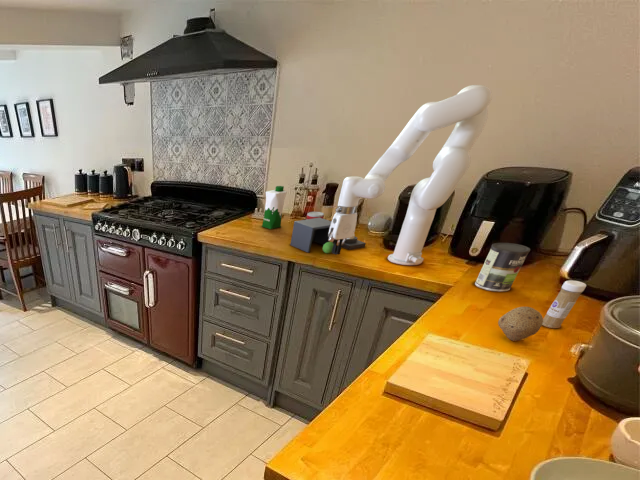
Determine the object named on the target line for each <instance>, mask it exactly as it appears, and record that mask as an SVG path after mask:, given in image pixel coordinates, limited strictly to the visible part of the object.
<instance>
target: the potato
mask: <svg viewBox="0 0 640 480" xmlns="http://www.w3.org/2000/svg"><path fill="white" fill-rule="evenodd" d="M543 319H544V317H543V315H542V313H541V312H540V311H539V310H537V309H535V308H533V307H530V306H519V307H515V308H513V309H511V310H509V311H508V312H505V314H503V315H502V316H500V317H499V319H498V321H497V325H498V327H499V328H500V329H501V331H502V332H503V334H504V335H505V337H506V338H507V339H508V340H510V341H512V342H519V341H524V340H525V339H528V338H530V337H531V336H533V335H535V334H537V333H538V332H539V331H540V329H541V328H542V326H543V325H542V323H543Z"/></svg>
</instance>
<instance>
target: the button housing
mask: <svg viewBox="0 0 640 480" xmlns="http://www.w3.org/2000/svg"><path fill="white" fill-rule="evenodd" d="M365 247H366V242H364V241H362V240H359V239H358V237H357V236H354V239H347V240H346V241H345V242H344V244H343V245H342V247H341V248H343V249H346V250H348V251H351V250H355V249H356V250H357V249H361V248H365Z"/></svg>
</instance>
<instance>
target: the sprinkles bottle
mask: <svg viewBox="0 0 640 480" xmlns="http://www.w3.org/2000/svg"><path fill="white" fill-rule="evenodd" d="M586 287H587V284H586V283H584V282H582V281H579V280H572V279H570V280H566V281H564V282H563V284H562V286H561V289H560V291H559V292H558V294H557V296H556V297H555V298H554V301H553V302H552V304H551V305H550V306H549V308H548V310H547V312H546V314H545V315H544V317H543V323H542V326H544V327H546V328H550V329H560V328H561V327H562V324H563V322H564V321H565V320H566V319H567V317H568V315H569V314H570V311H571V310H572V309H573V307H574V305H575V304H576V302H577V300H578V299H579V298H580V296H581V294H582V293H583V292H584V291H585V289H586Z"/></svg>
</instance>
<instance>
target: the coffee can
mask: <svg viewBox="0 0 640 480" xmlns="http://www.w3.org/2000/svg"><path fill="white" fill-rule="evenodd" d="M490 246H491V247H490V249H489V252H488V254H487V256H486V258H485V260H484V263H483V265H482V267H481V269H480V272H479V273H478V276H477V278H476V279H475V282H474V285H475V286H476V287H477V288H479V289H482V290H485V291H491V292H497V293H498V292H509V291H511V287H512V285H513V284H514V282H515V279H516V278H517V276H518V274H519V272H520V270H521V268H522V266H523V265H524V262H525V260H526V259H527V257H528V255H529V253H530V252H531V248H530V247H528V246H526V245H523V244H518V243H511V242H496V243H492V244H491V245H490Z"/></svg>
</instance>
